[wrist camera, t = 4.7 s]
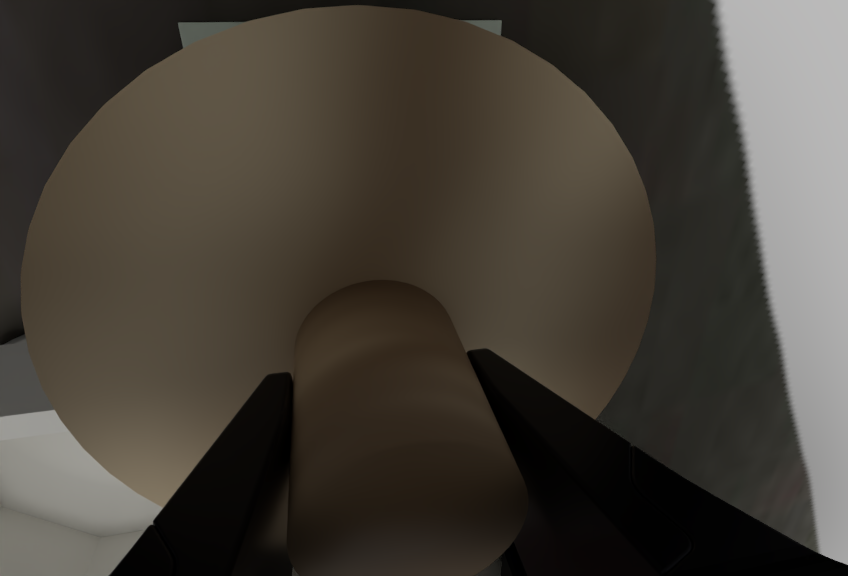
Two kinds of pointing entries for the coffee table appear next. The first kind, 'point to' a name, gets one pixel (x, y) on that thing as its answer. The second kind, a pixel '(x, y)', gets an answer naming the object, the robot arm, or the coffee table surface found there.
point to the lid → (340, 272)
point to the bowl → (56, 487)
